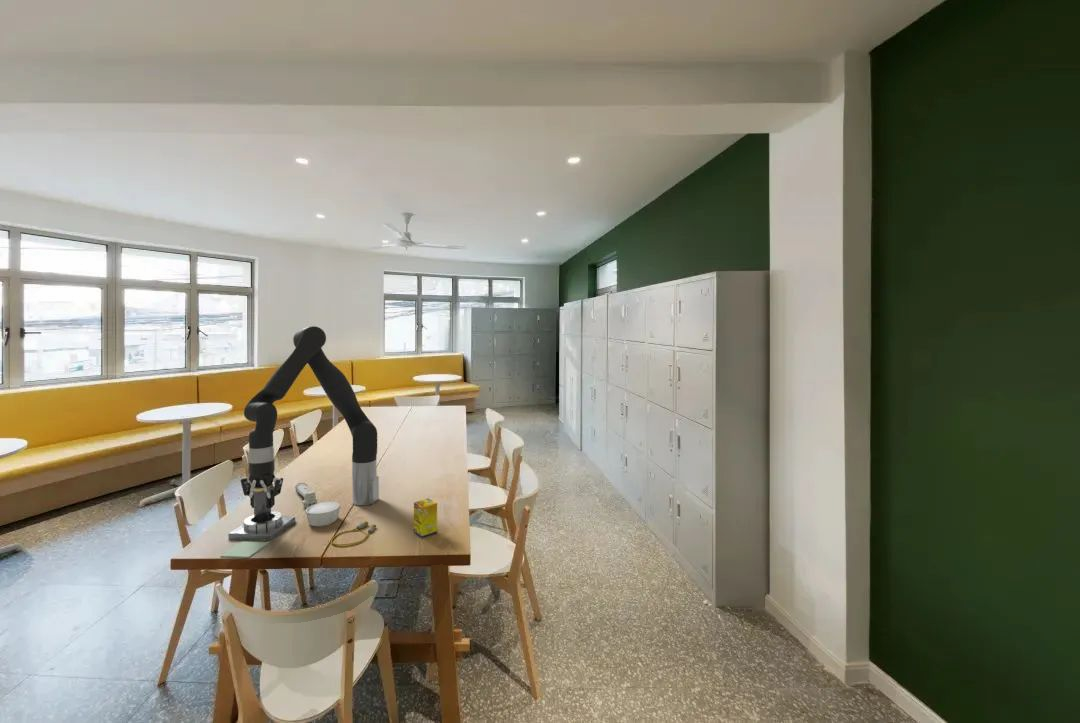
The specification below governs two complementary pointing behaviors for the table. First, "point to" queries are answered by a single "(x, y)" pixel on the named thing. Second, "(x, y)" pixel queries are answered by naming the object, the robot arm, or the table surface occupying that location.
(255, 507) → the dark grey cylinder
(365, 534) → the extension cord
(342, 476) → the table surface
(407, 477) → the table surface
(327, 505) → the ramekin
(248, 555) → the mat
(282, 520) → the chuck block
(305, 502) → the white stepped bar
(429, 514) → the supplement box
